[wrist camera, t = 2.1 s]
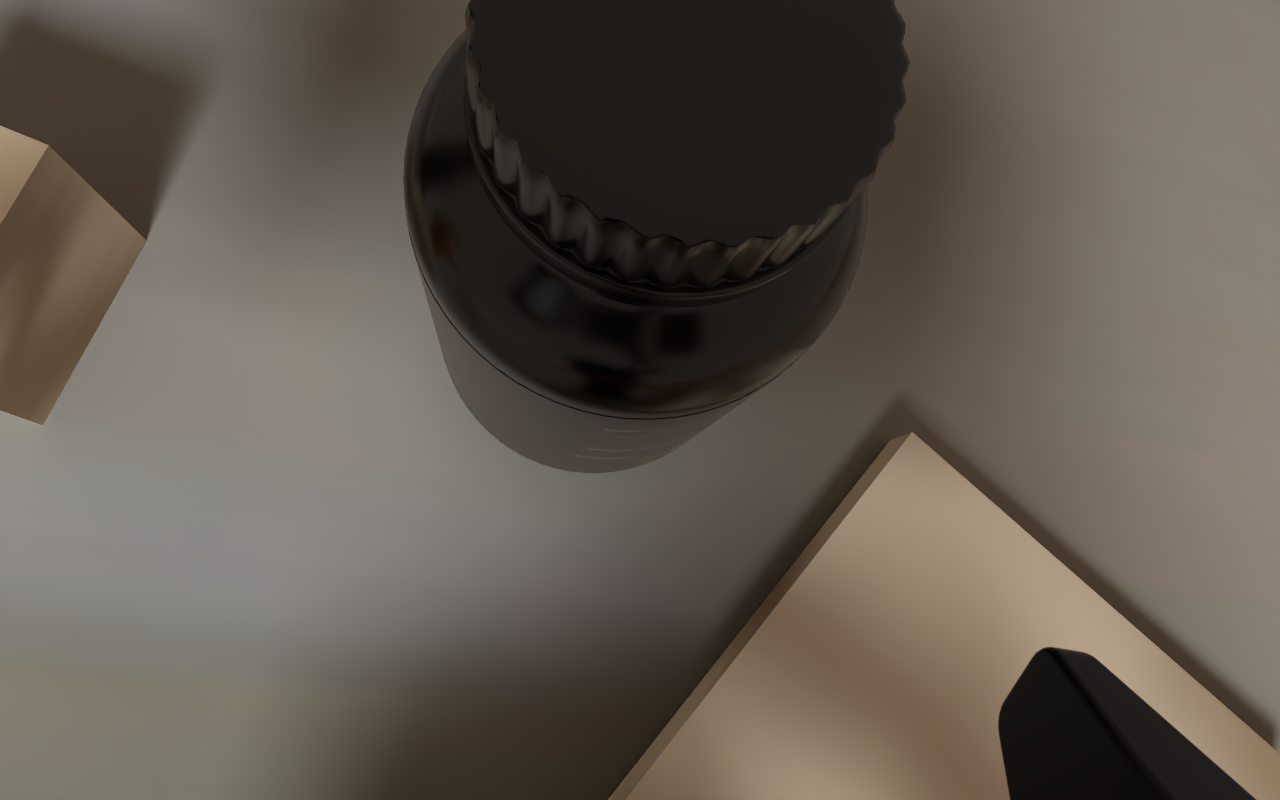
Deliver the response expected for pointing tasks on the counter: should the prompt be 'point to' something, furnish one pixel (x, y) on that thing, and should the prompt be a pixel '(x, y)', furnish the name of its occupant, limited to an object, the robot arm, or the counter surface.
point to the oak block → (52, 271)
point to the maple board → (910, 659)
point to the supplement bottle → (643, 207)
